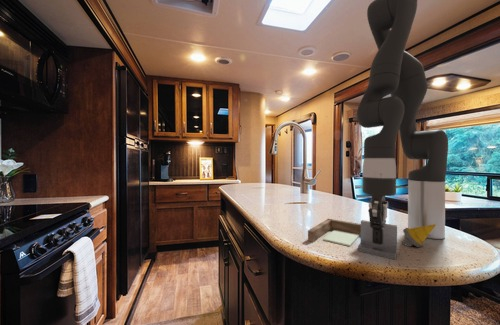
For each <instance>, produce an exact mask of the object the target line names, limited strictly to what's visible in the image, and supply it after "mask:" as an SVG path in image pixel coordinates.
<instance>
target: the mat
mask: <svg viewBox="0 0 500 325" xmlns="http://www.w3.org/2000/svg"><path fill="white" fill-rule="evenodd" d="M359 237H360V235H359V234H354V233H349V232H344V231H339V230H334V229H333V230H332V231H331V232H330V233H328V234H327V235H326V236H325V237H323V238H322V241H326V242H329V243H333V244H338V245H342V246H343V245H344V246H347V247H352V245H353V244H354V243H355V242H356V240H357V239H358V238H359Z"/></svg>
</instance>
